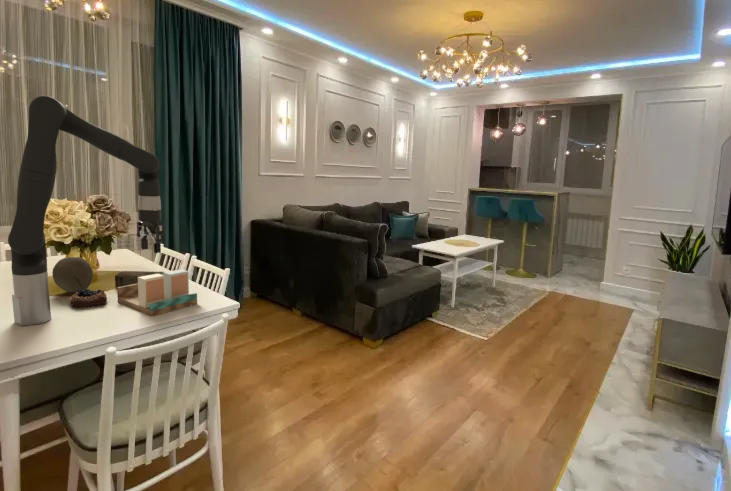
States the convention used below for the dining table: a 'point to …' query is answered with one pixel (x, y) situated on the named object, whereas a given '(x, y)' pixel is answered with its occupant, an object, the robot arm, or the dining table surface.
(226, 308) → the dining table surface
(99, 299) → the pastry
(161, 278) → the tea box
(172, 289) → the faced tea box
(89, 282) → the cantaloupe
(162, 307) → the wooden tray
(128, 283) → the dark brown box
